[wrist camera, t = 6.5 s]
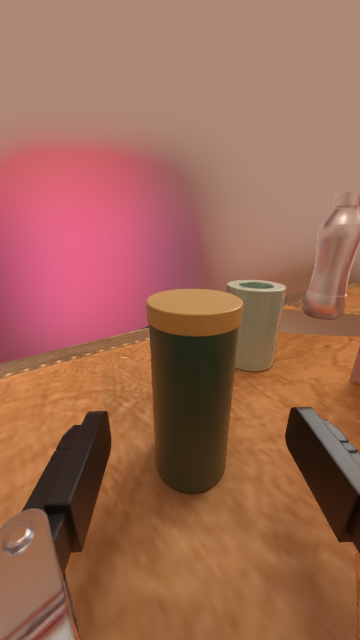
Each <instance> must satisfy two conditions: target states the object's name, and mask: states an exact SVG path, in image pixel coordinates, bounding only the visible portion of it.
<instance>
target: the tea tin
mask: <svg viewBox="0 0 360 640" xmlns="http://www.w3.org/2000/svg"><path fill="white" fill-rule="evenodd" d="M146 306H147V307H146V308H147V321H148V322H149V328H150V348H151V369H152V389H153V410H154V431H155V451H156V465H157V469H158V472H159V474H160V476H161V477H162V479H163V480H164V481H165V482H166V483H167V484H168V485H169V486H170V487H172V488H173V489H176V490H178V491H180V492H184V493H200V492H204V491H206V490H208V489H210V488H212V487H213V486H214V485H215V484H216V483H217V482H218V481H219V480H220V478H221V477H222V475H223V472H224V469H225V460H226V450H227V440H228V430H229V420H230V410H231V400H232V390H233V380H234V370H235V359H236V349H237V339H238V329H239V325H240V324H241V320H242V310H243V301H242V300H241V299H240V298H239V297H237V296H235V295H232V294H229V293H226V292H221V291H215V290H206V289H177V290H169V291H163V292H160V293H156V294H154V295H152V296H150V297H149V298H148V299H147V301H146Z"/></svg>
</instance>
